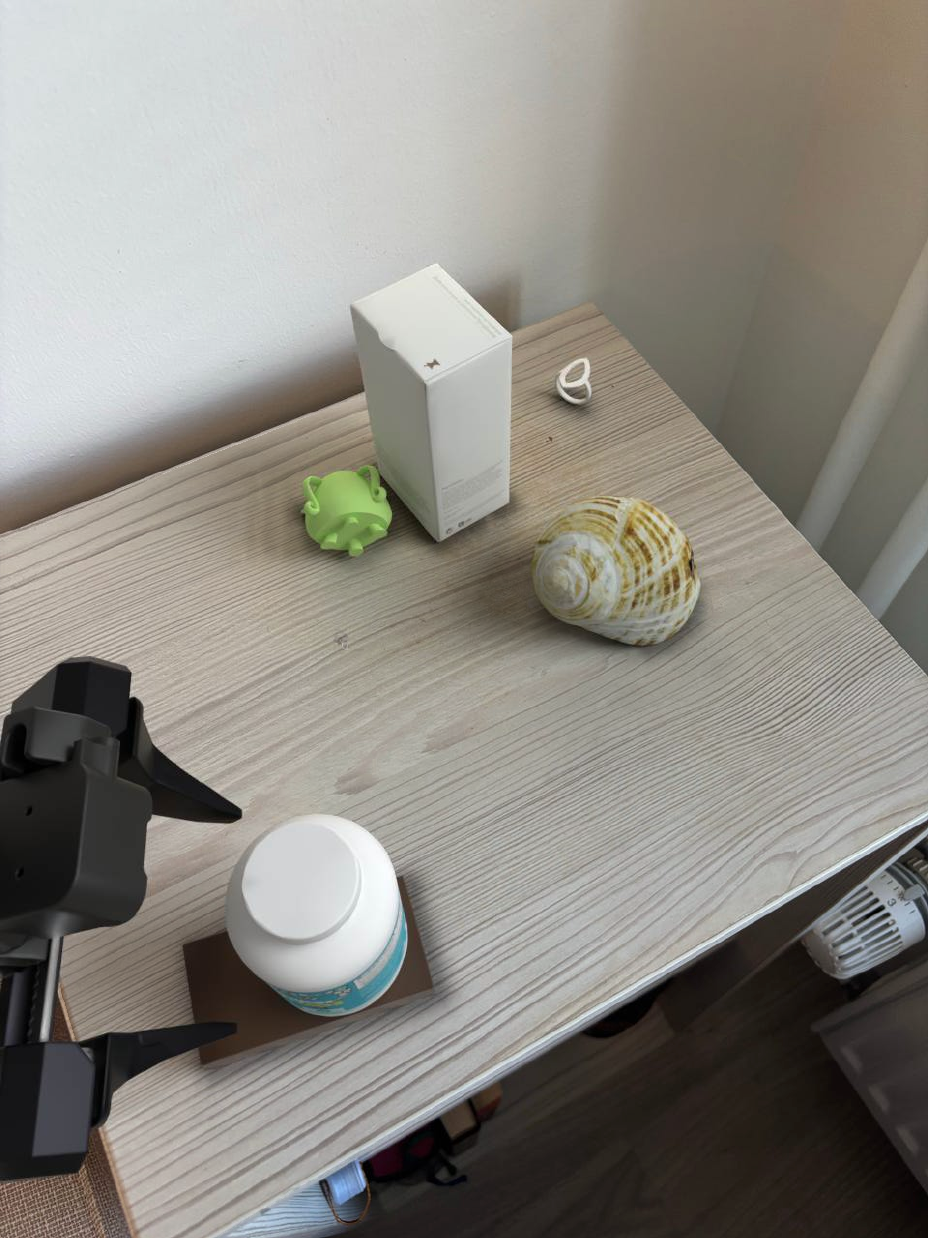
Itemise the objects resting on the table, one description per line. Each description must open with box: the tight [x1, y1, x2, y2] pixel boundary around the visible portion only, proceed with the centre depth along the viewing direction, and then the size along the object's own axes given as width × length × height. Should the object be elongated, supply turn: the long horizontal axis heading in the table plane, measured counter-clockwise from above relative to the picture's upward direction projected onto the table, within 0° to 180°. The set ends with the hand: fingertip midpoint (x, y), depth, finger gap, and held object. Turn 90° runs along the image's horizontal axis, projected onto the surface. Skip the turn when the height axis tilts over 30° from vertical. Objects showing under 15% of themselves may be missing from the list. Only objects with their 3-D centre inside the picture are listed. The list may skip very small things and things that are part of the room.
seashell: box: [531, 495, 701, 646], centre depth 59 cm, size 10×10×10 cm
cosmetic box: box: [349, 263, 514, 543], centre depth 59 cm, size 8×7×16 cm
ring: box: [553, 357, 593, 406], centre depth 69 cm, size 2×3×3 cm
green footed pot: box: [300, 464, 393, 557], centre depth 62 cm, size 6×5×6 cm
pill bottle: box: [224, 813, 407, 1016], centre depth 42 cm, size 8×7×14 cm
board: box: [181, 874, 437, 1070], centre depth 49 cm, size 12×6×2 cm, turn 108°
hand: (235, 917), depth 41 cm, fingers open, 9 cm apart
